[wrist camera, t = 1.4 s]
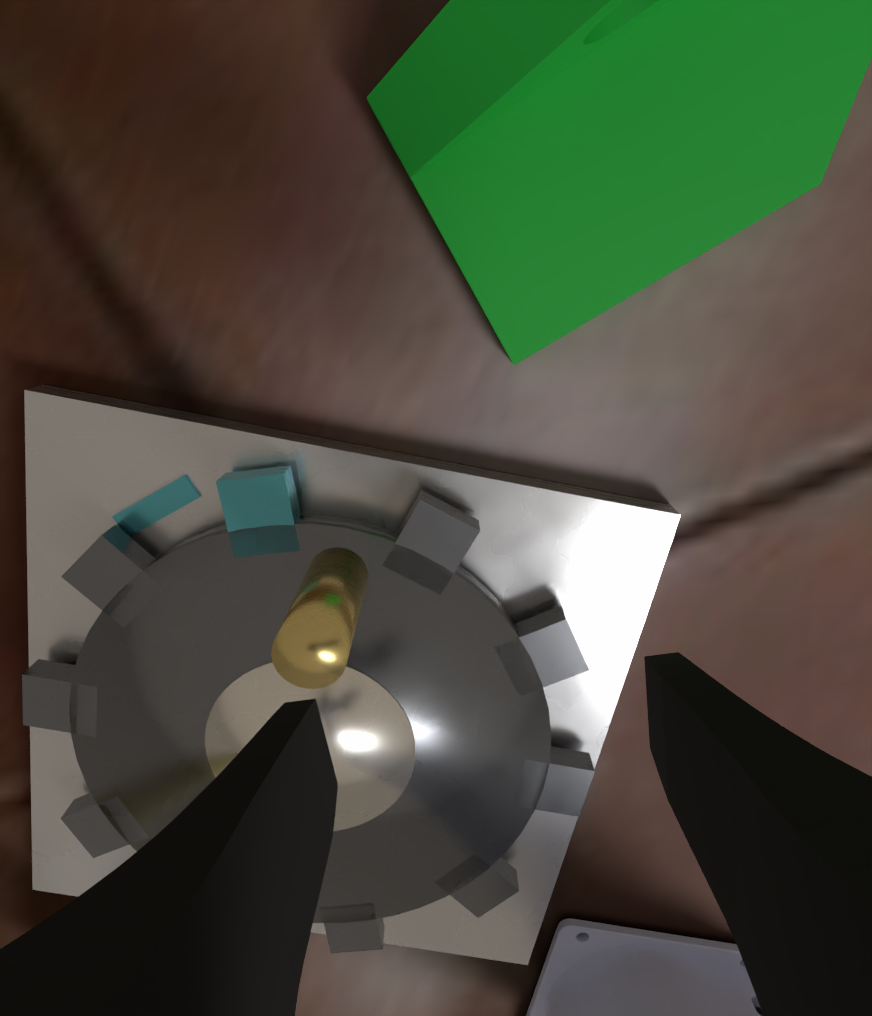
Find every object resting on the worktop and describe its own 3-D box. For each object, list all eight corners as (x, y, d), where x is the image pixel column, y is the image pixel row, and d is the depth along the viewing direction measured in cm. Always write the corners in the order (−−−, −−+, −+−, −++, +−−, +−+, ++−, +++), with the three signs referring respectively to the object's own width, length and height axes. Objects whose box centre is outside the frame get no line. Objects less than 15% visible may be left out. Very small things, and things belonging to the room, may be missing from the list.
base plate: (670, 504, 21) (681, 516, 20) (524, 941, 28) (527, 967, 27) (43, 384, 20) (22, 390, 19) (47, 868, 27) (30, 891, 26)
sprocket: (661, 535, 20) (734, 622, 15) (520, 959, 26) (538, 1123, 21) (35, 416, 19) (-113, 467, 14) (40, 885, 25) (-61, 1039, 20)
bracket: (509, 359, 20) (540, 399, 14) (372, 110, 18) (331, 19, 11) (894, 130, 18) (1147, 49, 11) (792, -186, 16) (1034, -504, 9)
